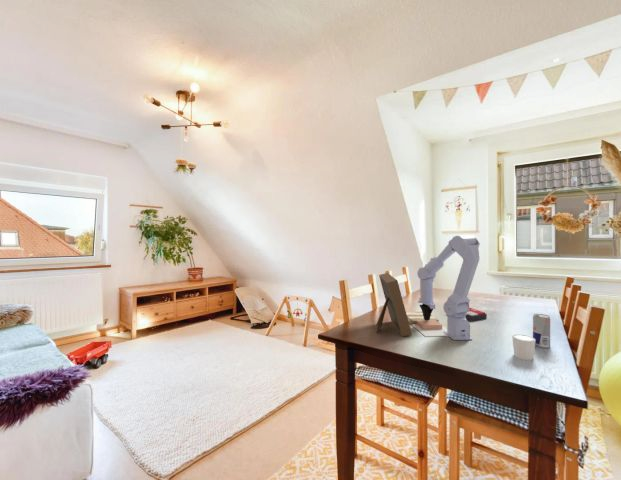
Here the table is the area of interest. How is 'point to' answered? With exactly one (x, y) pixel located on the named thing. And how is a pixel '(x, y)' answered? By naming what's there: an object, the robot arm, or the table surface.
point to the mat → (431, 331)
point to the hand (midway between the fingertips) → (426, 319)
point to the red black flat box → (475, 315)
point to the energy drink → (541, 330)
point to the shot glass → (523, 346)
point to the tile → (428, 324)
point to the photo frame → (393, 305)
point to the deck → (417, 317)
